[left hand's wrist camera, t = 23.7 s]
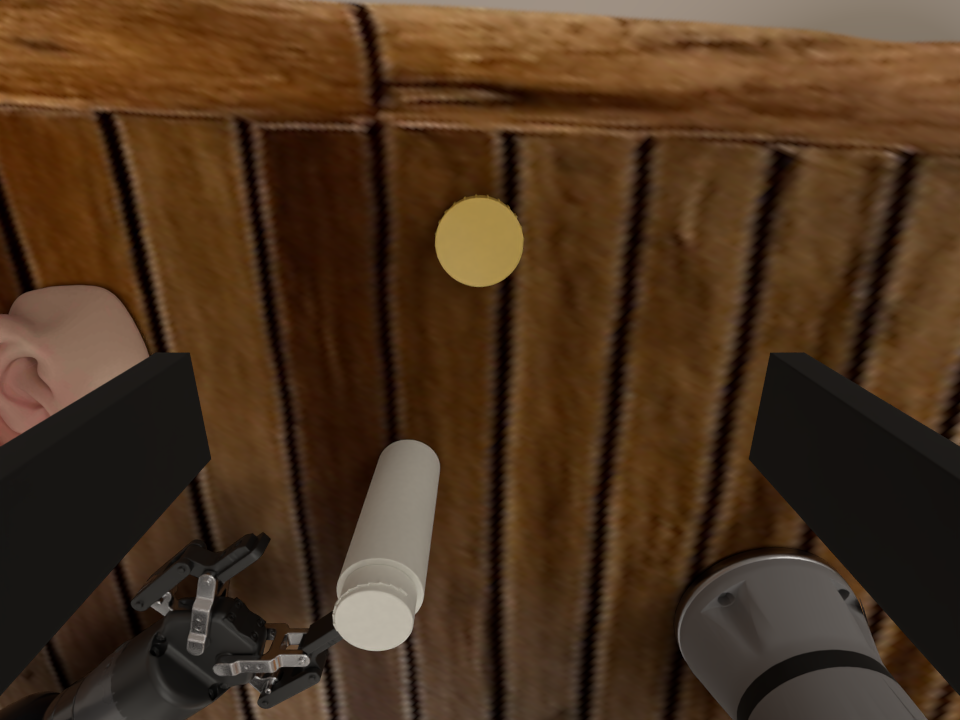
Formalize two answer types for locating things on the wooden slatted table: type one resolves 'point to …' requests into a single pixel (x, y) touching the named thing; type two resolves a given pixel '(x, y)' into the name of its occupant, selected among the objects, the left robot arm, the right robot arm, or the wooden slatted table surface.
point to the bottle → (389, 550)
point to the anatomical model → (61, 351)
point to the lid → (479, 241)
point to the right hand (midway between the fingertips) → (305, 581)
